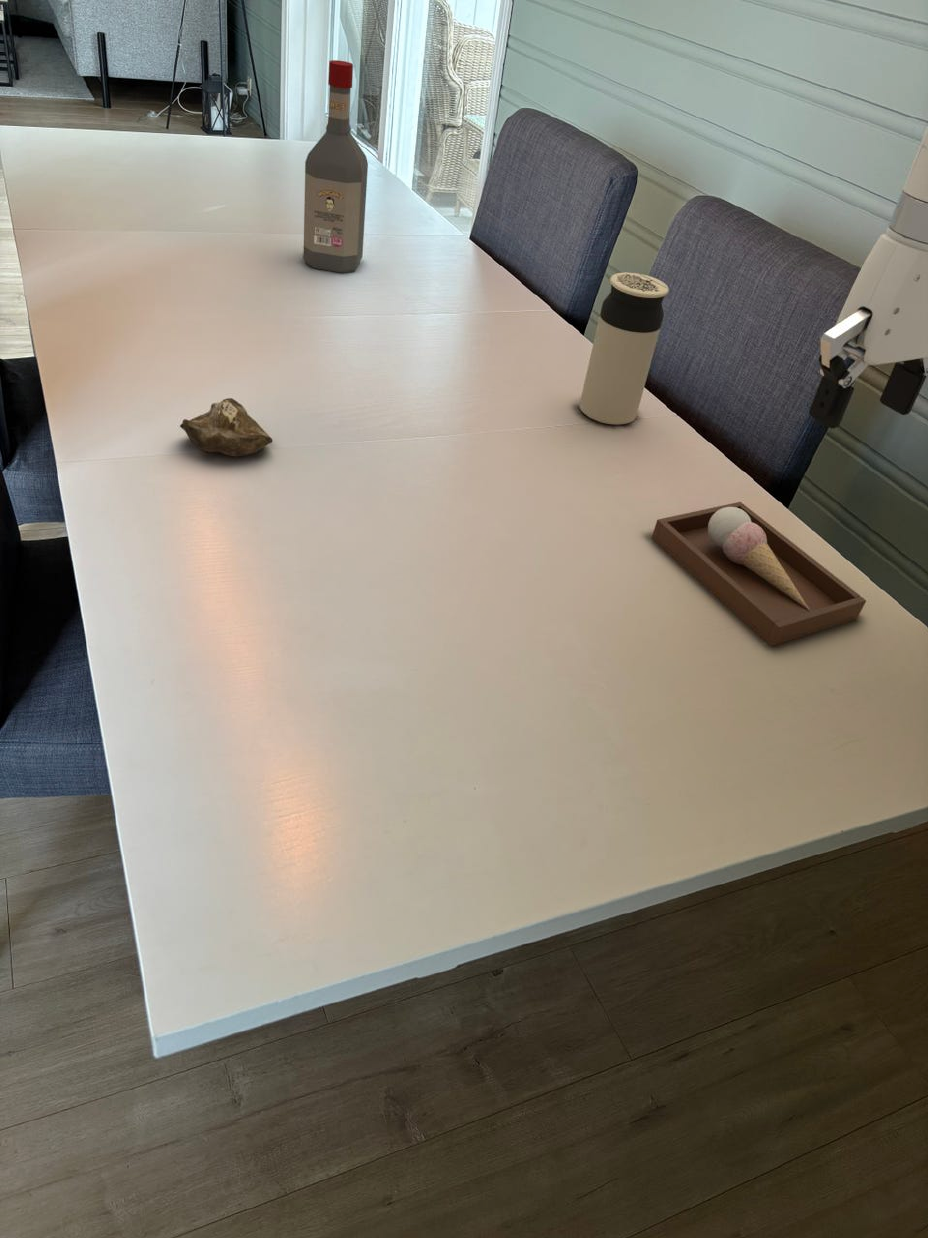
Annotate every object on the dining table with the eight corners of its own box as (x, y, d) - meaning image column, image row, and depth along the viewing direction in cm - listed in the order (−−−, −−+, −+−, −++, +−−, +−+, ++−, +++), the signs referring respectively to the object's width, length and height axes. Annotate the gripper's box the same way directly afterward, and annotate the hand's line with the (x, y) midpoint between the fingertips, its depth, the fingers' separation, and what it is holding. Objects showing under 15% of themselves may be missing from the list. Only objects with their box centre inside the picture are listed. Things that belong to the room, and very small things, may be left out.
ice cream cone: (823, 608, 97) (729, 513, 104) (834, 589, 93) (735, 490, 99) (788, 633, 97) (696, 535, 103) (798, 614, 92) (701, 513, 99)
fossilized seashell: (163, 434, 102) (241, 472, 101) (185, 378, 100) (265, 416, 100) (193, 439, 109) (266, 475, 108) (214, 387, 108) (288, 423, 107)
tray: (857, 618, 96) (866, 600, 94) (770, 646, 90) (779, 627, 89) (733, 519, 108) (740, 501, 107) (651, 537, 103) (657, 519, 101)
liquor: (353, 275, 154) (365, 72, 135) (300, 266, 154) (304, 62, 135) (364, 258, 161) (376, 63, 142) (313, 249, 161) (318, 53, 142)
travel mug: (600, 429, 122) (633, 296, 110) (567, 402, 127) (596, 272, 116) (646, 422, 125) (683, 292, 114) (613, 396, 130) (645, 269, 119)
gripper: (967, 207, 81) (888, 387, 92) (833, 212, 73) (764, 408, 84) (1042, 234, 76) (950, 421, 87) (907, 243, 68) (824, 446, 79)
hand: (858, 414), depth 85 cm, fingers open, 9 cm apart
